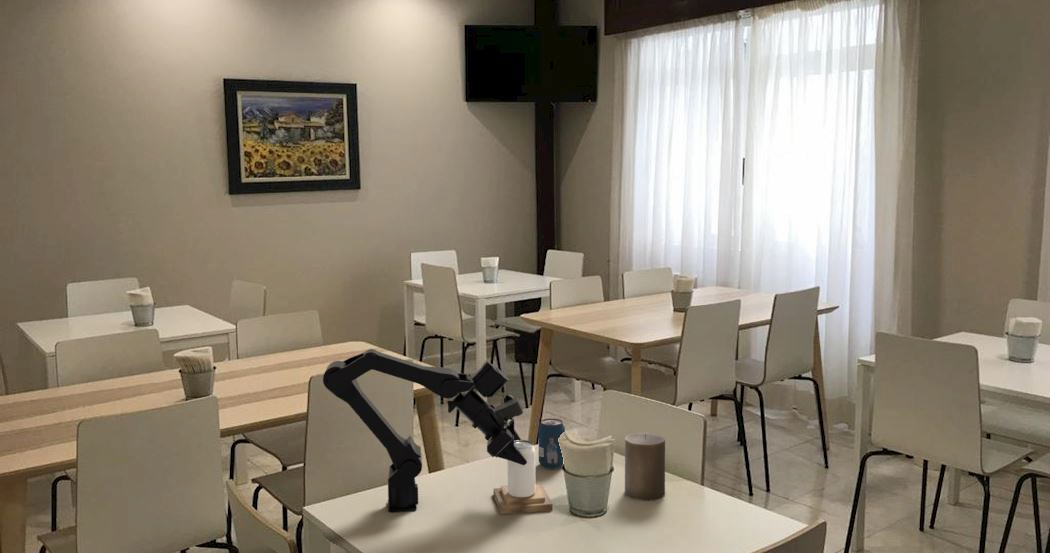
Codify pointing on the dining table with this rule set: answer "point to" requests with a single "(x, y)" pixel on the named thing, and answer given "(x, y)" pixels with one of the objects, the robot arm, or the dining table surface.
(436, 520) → the dining table surface
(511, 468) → the can
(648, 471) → the pillar candle
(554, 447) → the soda can
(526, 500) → the plinth
